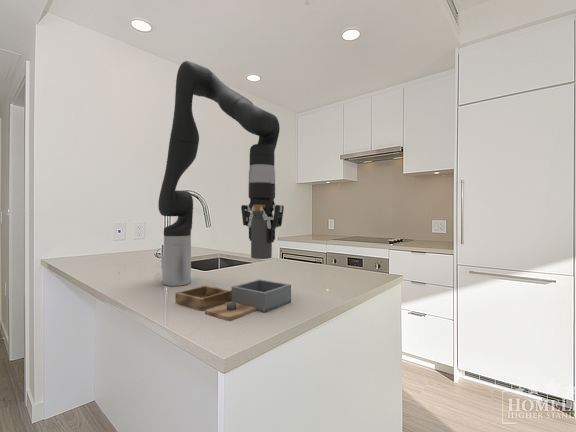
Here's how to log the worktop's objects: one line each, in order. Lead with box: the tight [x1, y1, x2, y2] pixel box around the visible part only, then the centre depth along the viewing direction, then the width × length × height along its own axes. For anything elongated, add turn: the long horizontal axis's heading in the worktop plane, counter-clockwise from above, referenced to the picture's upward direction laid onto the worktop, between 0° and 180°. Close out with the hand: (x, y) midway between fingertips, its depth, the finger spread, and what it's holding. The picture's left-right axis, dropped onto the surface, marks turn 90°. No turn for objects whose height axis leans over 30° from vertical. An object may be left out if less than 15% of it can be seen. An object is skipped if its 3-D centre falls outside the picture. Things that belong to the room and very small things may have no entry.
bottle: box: [250, 205, 273, 260], centre depth 90 cm, size 6×6×15 cm
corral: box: [174, 285, 231, 312], centre depth 91 cm, size 11×11×3 cm
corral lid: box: [204, 301, 257, 322], centre depth 82 cm, size 9×10×2 cm
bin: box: [230, 279, 292, 314], centre depth 90 cm, size 12×12×5 cm
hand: (261, 241), depth 90 cm, fingers closed on bottle, 6 cm apart
